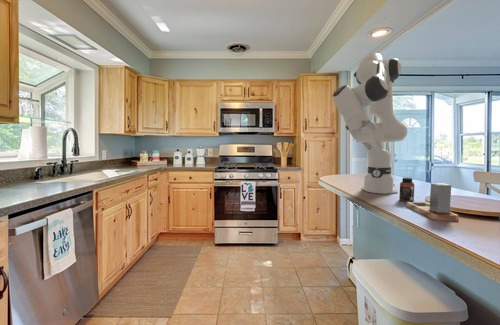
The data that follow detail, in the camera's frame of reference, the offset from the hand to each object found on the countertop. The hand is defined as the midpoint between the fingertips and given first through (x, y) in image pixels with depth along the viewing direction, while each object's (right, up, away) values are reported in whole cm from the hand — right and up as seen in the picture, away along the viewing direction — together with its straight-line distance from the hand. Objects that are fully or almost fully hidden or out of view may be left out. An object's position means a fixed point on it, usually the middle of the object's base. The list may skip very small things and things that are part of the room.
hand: (375, 149), depth 106 cm
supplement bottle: (+23, -24, +15) cm, 37 cm away
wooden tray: (+21, -26, -4) cm, 34 cm away
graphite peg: (+20, -27, -9) cm, 35 cm away
